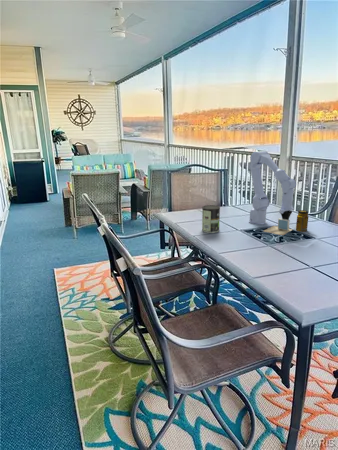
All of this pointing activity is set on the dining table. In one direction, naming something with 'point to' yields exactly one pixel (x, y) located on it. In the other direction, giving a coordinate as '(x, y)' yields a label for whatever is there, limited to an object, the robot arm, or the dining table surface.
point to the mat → (277, 230)
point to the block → (283, 224)
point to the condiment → (302, 221)
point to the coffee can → (210, 218)
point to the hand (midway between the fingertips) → (285, 223)
